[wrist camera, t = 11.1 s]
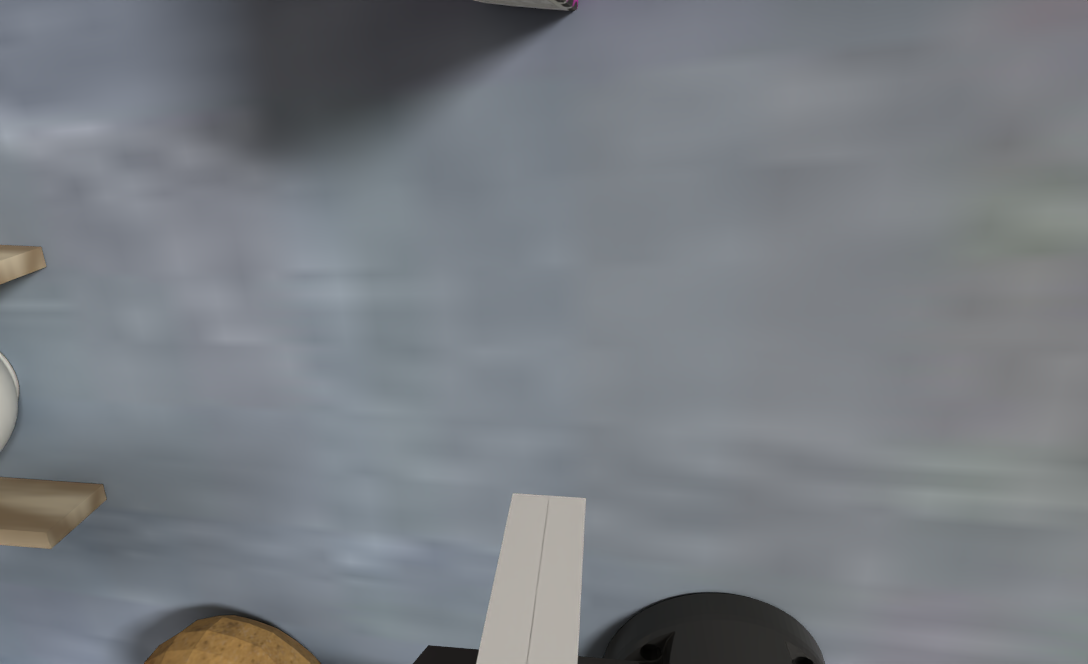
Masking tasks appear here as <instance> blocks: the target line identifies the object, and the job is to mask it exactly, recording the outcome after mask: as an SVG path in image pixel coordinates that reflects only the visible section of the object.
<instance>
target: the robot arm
mask: <svg viewBox="0 0 1088 664" xmlns="http://www.w3.org/2000/svg"><path fill="white" fill-rule="evenodd" d="M585 503H586V498H574V497H559V496H544V495H530V494H515V493H513V495H512V500H511V505H510V509H509V514H508V519H507V523H506V528H505V532H504V537H503V542H502V546H501V551H500V556H499V560H498V565H497V570H496V574H495V579H494V583H493V588H492V593H491V597H490V602H489V607H488V611H487V616H486V620H485V625H484V630H483V634H482V639H481V644H480V648H479V650H477V649H465V648H453V647H441V646H430V645H428V646H427V648H426V649H425V650H424V651H423V652H422V654H421V655H420V656H419V657H418V658H417V660H416V661H415V662H414V663H413V664H825V661H824V659H823V656H822V653H821V651H820V648H819V646H818V645H817V643H816V641H815V640H814V638H813V637H812V635H811V634H810V633H809V632H808V631H807V630H806V628H804V627H803V626H802V625H801V624H800V623H799V622H798V621H797V620H796V619H794V618H793V617H791V616H790V615H789V614H787V613H785V612H784V611H782V610H780V609H778V608H776V607H774V606H772V605H770V604H768V603H765V602H762V601H759V600H756V599H753V598H749V597H744V596H739V595H733V594H723V593H703V594H693V595H686V596H681V597H677V598H673V599H670V600H666V601H663V602H661V603H658V604H656V605H654V606H652V607H649V608H647V609H646V610H644V611H642V612H640V613H639V614H637V615H636V616H634V617H633V618H632V619H630V620H629V621H628V622H627V623H626V624H625V625H624V626H623V627H622V628H621V629H620V630H619V631H618V632H617V633H616V635H615V636H614V637H613V639H612V640H611V642H610V644H609V645H608V647H607V650H606V652H605V655H604V658H593V657H581V656H578V643H579V623H580V603H581V583H582V563H583V543H584V523H585Z"/></svg>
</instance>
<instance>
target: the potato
mask: <svg viewBox="0 0 1088 664" xmlns="http://www.w3.org/2000/svg"><path fill="white" fill-rule="evenodd" d="M144 664H321V663H320V662H319V661H318V660H317V659H316V658H315V657H314V656H313V654H312V653H310V652H309V651H308V650H307V649H305V648H304V647H303V646H302V645H301V644H299V643H298V642H297V641H296V640H294V639H293V638H291V637H290V636H288V635H287V634H285V633H283V632H282V631H280V630H279V629H277V628H275V627H272V626H269V625H267V624H264V623H261V622H258V621H256V620H252V619H248V618H244V617H240V616H236V615H224V616H214V617H210V618H205V619H200V620H197V621H195V622H194V623H192V624H191V625H190V626H188V627H187V628H186V629H184V630H183V631H181V632H180V633H178V634H177V635H175V636H174V637H172V638H170V639H169V640H167V641H166V642H164V643H162V644H161V645H159V646H158V647H157V649H156V650H155V651H154V652H153V653H152V654H151V656H150V657H149V658H148V659H147V660H146V661H145V663H144Z"/></svg>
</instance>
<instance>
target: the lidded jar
mask: <svg viewBox="0 0 1088 664" xmlns="http://www.w3.org/2000/svg"><path fill="white" fill-rule="evenodd" d="M18 399H19V383H18V379H17V376H16V373H15V371H14V369H13V367H12V366H11V364H10V363H9V361H8V360H7V359H6V357H5V356H4V355H3V354H2V353H1V352H0V452H1V451H2V449H3V448H4V446H5V445H6V443H7V442H8V440H9V438H10V437H11V434H12V432H13V429H14V427H15V423H16V420H17V414H18Z"/></svg>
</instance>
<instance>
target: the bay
mask: <svg viewBox="0 0 1088 664" xmlns="http://www.w3.org/2000/svg"><path fill="white" fill-rule="evenodd" d="M45 267H46V263H45V260H44V256H43V252H42V248H41V247H35V246H12V245H0V284H3V283H5V282H8V281H11V280H13V279H16V278H18V277H21V276H24V275H26V274H29V273H32V272H34V271H37V270H39V269H42V268H45ZM106 500H107V498H106V495H105V491H104V487H103V484H91V483H77V482H63V481H49V480H35V479H20V478H6V477H0V545H8V546H21V547H34V548H47V549H52V548H53V547H54V546H55V545H56V544H57V543H58V542H60V541H61V540H62V539H63V538H64V537H65V536H66V535H67V534H68V533H70V532H71V531H72V530H73V529H74V528H75V527H76V526H77V525H79V524H80V523H81V522H82V521H83V520H84V519H85V518H86V517H88V516H89V515H90V514H91V513H92V512H93V511H94V510H95V509H97V508H98V507H99V506H100V505H101V504H102V503H103V502H104V501H106Z"/></svg>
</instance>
